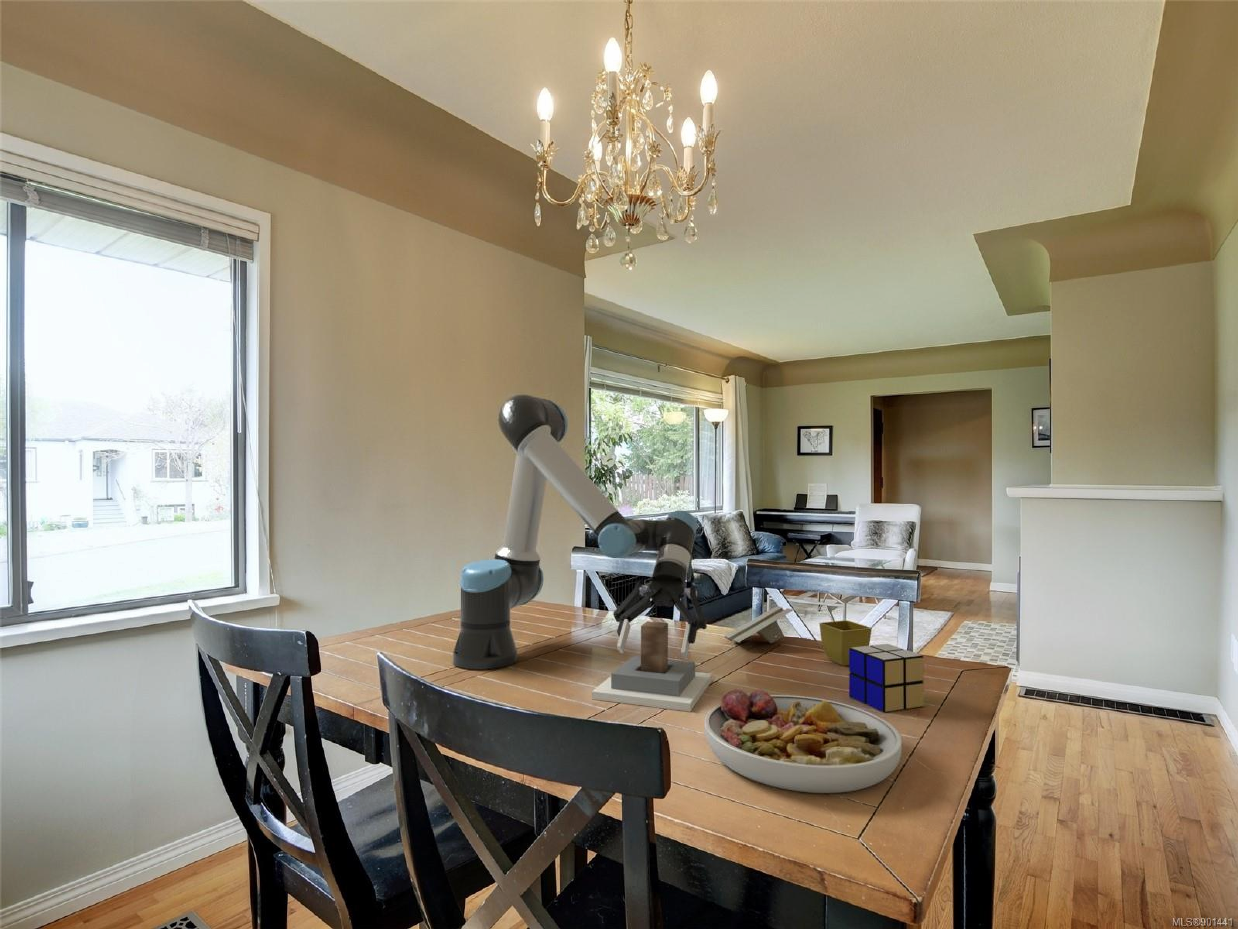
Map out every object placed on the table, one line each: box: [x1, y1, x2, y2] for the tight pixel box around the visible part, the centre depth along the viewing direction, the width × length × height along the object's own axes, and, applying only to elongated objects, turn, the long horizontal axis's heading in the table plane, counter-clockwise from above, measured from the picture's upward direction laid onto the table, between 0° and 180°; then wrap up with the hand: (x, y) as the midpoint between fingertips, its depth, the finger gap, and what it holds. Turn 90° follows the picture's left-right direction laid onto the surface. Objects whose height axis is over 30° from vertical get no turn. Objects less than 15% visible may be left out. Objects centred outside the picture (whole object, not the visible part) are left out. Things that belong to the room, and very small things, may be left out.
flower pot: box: [819, 620, 872, 667], centre depth 158 cm, size 9×9×9 cm
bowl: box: [704, 689, 903, 794], centre depth 105 cm, size 30×30×8 cm
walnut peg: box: [640, 620, 669, 674], centre depth 137 cm, size 4×4×12 cm
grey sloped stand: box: [723, 605, 795, 644], centre depth 176 cm, size 19×10×17 cm
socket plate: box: [591, 655, 713, 713], centre depth 137 cm, size 20×20×4 cm
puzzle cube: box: [848, 643, 925, 714], centre depth 131 cm, size 10×10×10 cm
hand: (651, 652), depth 135 cm, fingers open, 13 cm apart
